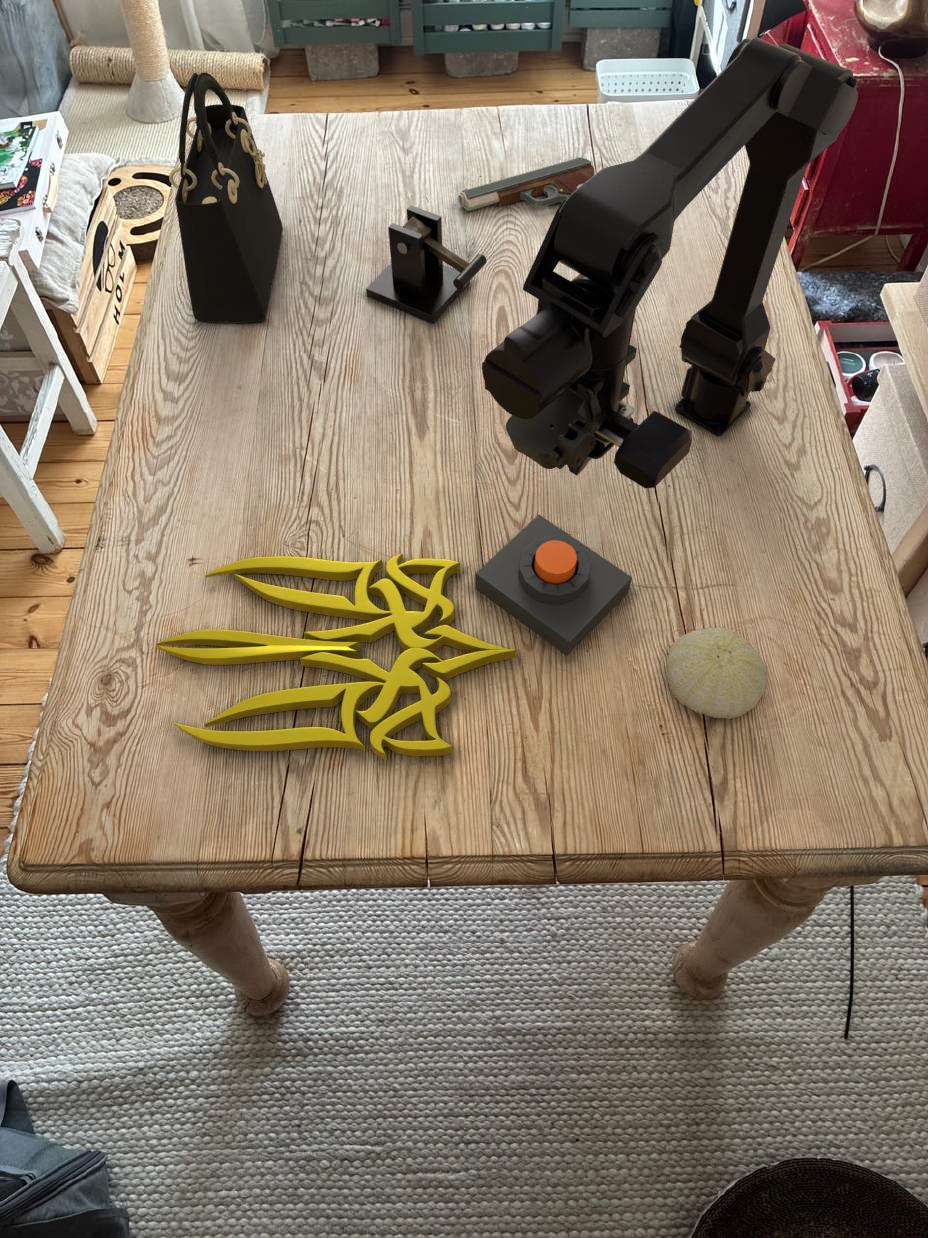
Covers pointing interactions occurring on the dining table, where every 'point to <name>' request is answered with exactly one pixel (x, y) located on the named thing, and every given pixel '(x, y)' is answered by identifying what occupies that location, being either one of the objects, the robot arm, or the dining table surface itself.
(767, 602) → the dining table surface
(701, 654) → the sea urchin shell
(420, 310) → the bracket
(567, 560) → the button
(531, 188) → the handgun
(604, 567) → the button box
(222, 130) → the handbag
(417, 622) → the trident
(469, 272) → the lever
